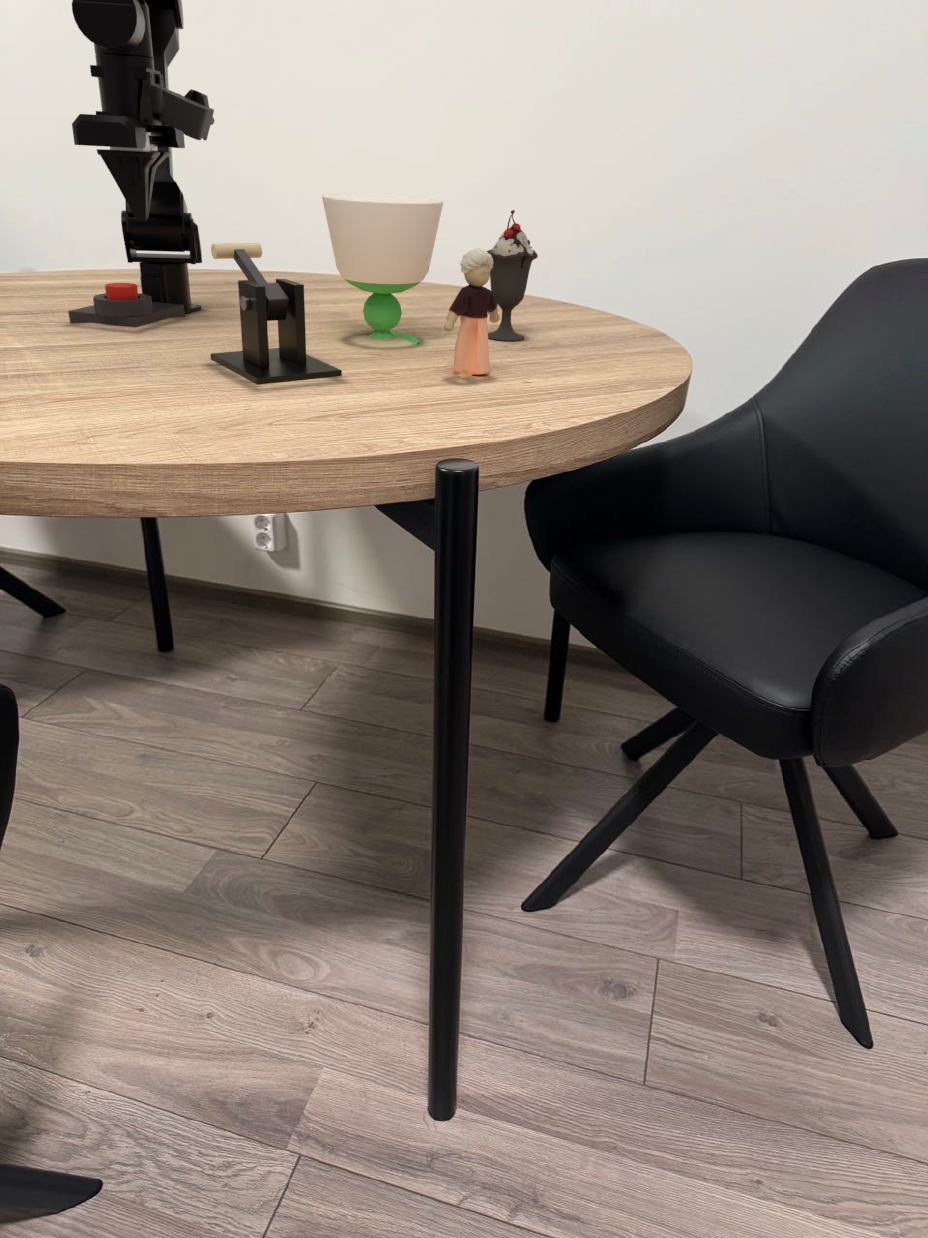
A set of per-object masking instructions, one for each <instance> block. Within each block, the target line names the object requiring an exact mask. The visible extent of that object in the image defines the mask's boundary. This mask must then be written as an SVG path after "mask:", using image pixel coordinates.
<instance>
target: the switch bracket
mask: <svg viewBox="0 0 928 1238" xmlns="http://www.w3.org/2000/svg"><path fill="white" fill-rule="evenodd" d="M275 283H278V284H279V285H280V287H281V288H282V289H283V291H284V292H285V294H286V295H287V297H288V298H289V302H288V309H287V315H286V320H277V336H278V347H273V348H269V331H268V321H267V310H266V291H265V286H262V285H259V284H256V283H254V282H251V281H249V280H248V279H239V280H238V281H237V287H238V302H239V319H240V332H241V345H242V346H241V348H242V350H237V351H236V350H235V351H225V352H223V351H222V352H213V353H210V360H211V361H212V362H215V363H216V364H219V365H221V366H222V367H224V368H226V369H228V370H230V371H231V372H234V373H235V374H237V375H239V376H241V377H242V378H244V379H246V380H248V381H249V382H251V383H253V384H255V385H258V386H259V385H269V384H277V383H288V382H299V381H305V380H317V379H318V380H319V379H327V378H328V379H329V378H335V377H342V375H343V373H342V371H343V370H342V369H340V368H338V367H335V366H333V365H331V364H329V363H327V362H324V361H322V360H319V359H318V358H315V357H313V356H311V355H309V354H307V340H306V338H307V337H306V310H305V309H306V307H305V285H304V284H303V283H300V282H297V281H294V280H290V279H287V278H275Z"/></svg>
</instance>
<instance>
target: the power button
mask: <svg viewBox="0 0 928 1238" xmlns="http://www.w3.org/2000/svg"><path fill="white" fill-rule="evenodd" d="M104 289H105V293H106V297H107V299H115V300H129V299H137V298H138V293H139V291H138V285H137V284H136V283H131V282H110V283H106V284H105V285H104Z"/></svg>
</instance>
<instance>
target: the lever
mask: <svg viewBox="0 0 928 1238" xmlns="http://www.w3.org/2000/svg"><path fill="white" fill-rule="evenodd" d="M210 253H211V257H212V258H213V259H214V260H223V259H224V260H226V259H233V260H234V262H235V263H236V265H237V266H238V267H239V268H240V270H241V271H242V273H243V275H244V276H245V277H246V280H248V281H251V282H254V283H256V284H259V285H262V286H265V291H266V310H267V322H271V321H278V320H286V315H287V309H288V302H289V298H288V297H287V295H286V294H285V292H284V291H283V289H282V288H281V287H280V285H279V284H278V283H276V282H267V280H266V278H264V276H263V274H262V273H261V271H260V270H259V268H258V267H257V266H256V264H255V262H254V261H253V260H252V259H260V258H262V255H263V248H262V245H261V244H260V242H238V243H237V242H235V243H234V242H232V243H229V242H228V243H227V242H226V243H212V244H211V246H210Z"/></svg>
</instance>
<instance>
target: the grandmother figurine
mask: <svg viewBox="0 0 928 1238" xmlns="http://www.w3.org/2000/svg"><path fill="white" fill-rule="evenodd" d="M486 251H487V250H485V249H482V248H479V247H477V248H473V249H470V250H469V251H468V252H466V253H465V254H463V255H462V257H461V260H460V263H459V266H460V267H461V268H460V272H461V273H463V275H464V280H465V282H466V283H467V285H466V286H463V287H461V288H460V290H459V292H458V293H457V295H456V296H455V298H454V300H453V302H452V304H451V305H450V307H449V309H448V313H447V316H446V321H444V323H443V329H444V331H446V332H452V331H453V330H454V327H455V324H456V323H457V321H458V319H459V321H460V325H459V328H458V332H457V337H456V340H455V345H454V352H453V353H454V354H453V363H452V364H453V366H452V370H453V371H454V372H453V375H454V376H455V377H457V378H463V379H465V378H466V379H467V378H472V376H473V375H476V376H477V375H478V376H479V375H486V374H489V373H490V365H491V364H490V363H491V361H490V344H489V338H488V333H489V328H488V327H489V326H488V316H489V321H490V322H491V323H493V324H495V323H497V322H499V321H500V320H501V319H500V318H501V317H500V314H499V313H498V311H499V310H498V304H497V302H496V299H495V297H494V295H493V293H492V291H491V289H490V288H487V287H486V286H485V285H486V284H487V283H488V282H489V281H490V271H491V269H492V268H493V258H492V256H491V255H490V254H488V252H486Z"/></svg>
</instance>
